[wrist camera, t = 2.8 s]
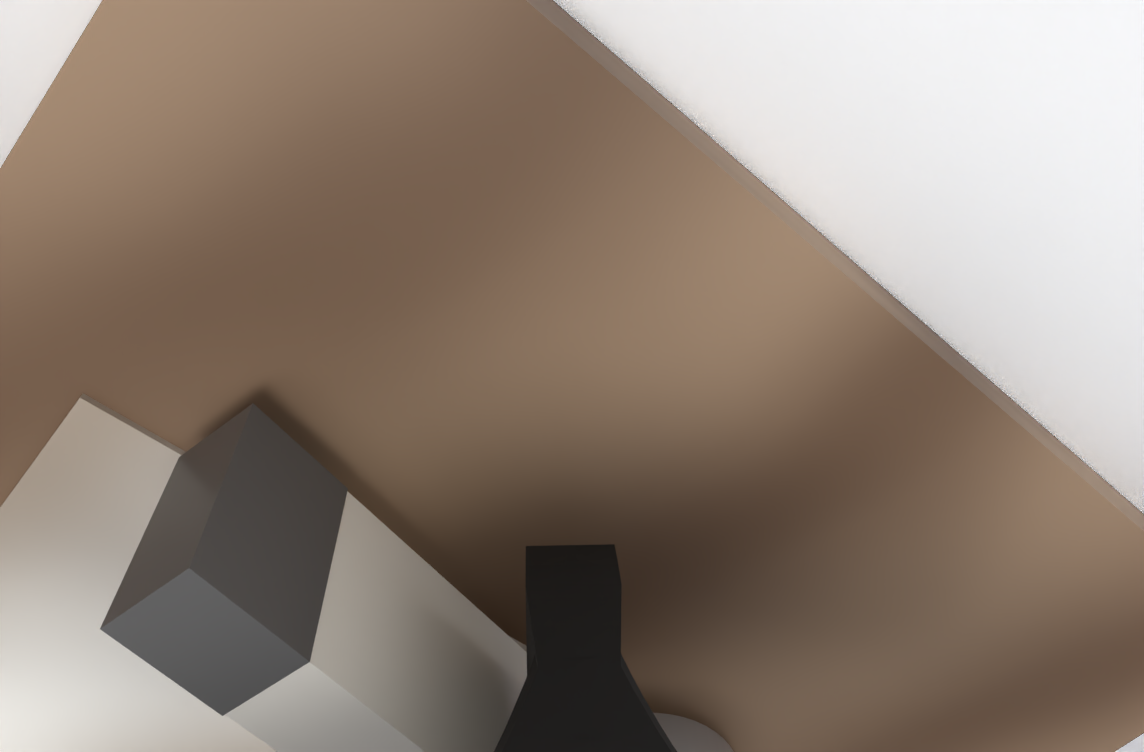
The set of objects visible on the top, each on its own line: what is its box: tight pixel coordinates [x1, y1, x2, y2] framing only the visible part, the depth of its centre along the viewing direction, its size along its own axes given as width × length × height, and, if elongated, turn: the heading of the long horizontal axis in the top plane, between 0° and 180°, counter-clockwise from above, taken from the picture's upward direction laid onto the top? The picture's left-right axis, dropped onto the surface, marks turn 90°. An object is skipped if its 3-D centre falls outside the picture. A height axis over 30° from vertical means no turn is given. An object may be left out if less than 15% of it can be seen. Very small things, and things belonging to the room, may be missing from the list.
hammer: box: [100, 403, 733, 752], centre depth 14 cm, size 10×3×3 cm, turn 37°
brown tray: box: [0, 0, 1144, 752], centre depth 16 cm, size 18×18×1 cm
